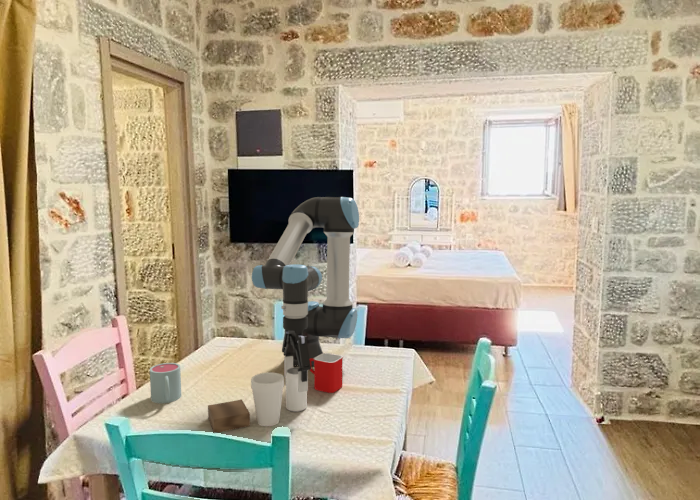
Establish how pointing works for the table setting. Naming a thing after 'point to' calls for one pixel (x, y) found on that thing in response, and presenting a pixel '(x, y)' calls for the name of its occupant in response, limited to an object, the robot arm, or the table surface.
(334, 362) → the mug
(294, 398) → the can
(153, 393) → the mug
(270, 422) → the foam cup
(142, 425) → the table surface
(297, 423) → the table surface
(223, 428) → the walnut block
